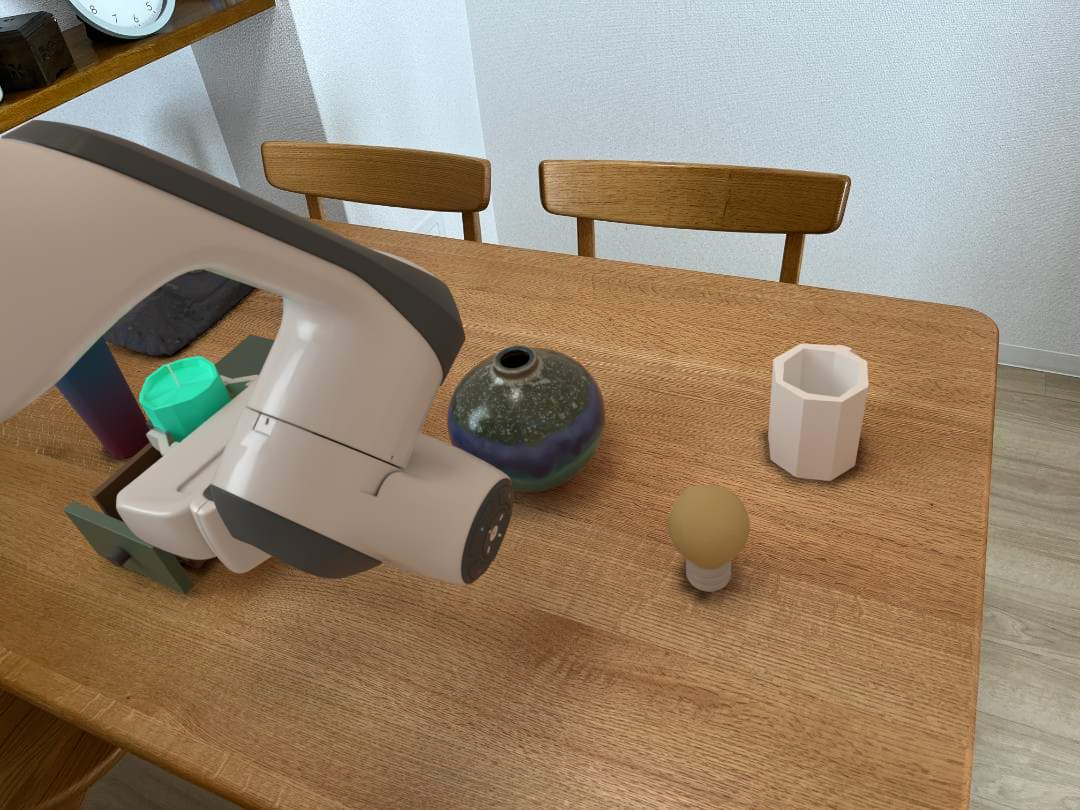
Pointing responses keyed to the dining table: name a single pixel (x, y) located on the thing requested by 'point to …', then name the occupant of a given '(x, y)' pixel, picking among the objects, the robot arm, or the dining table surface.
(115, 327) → the dark slate chunk
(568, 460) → the vase
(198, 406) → the candle
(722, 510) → the light bulb
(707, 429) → the dining table surface
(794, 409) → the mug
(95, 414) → the cup
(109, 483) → the drawer
